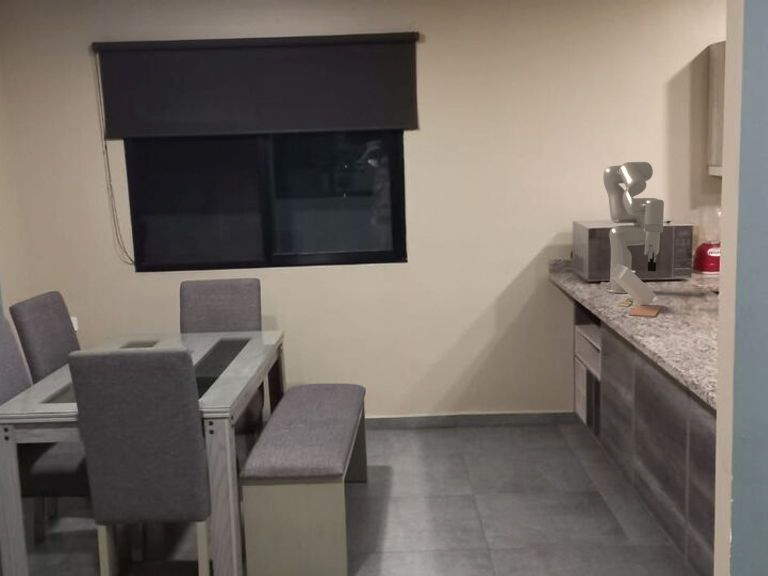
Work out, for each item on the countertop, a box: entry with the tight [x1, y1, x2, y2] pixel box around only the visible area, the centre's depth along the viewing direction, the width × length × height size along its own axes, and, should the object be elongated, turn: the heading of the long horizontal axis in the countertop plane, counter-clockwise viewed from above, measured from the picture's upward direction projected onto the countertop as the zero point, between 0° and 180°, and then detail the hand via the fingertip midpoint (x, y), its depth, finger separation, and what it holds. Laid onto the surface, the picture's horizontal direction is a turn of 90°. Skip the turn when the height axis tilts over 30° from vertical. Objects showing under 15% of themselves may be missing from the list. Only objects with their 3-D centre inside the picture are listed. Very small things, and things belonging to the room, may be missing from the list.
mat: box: [628, 304, 662, 318], centre depth 314 cm, size 10×20×1 cm, turn 153°
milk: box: [612, 263, 657, 306], centre depth 323 cm, size 6×6×22 cm
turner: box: [618, 298, 632, 308], centre depth 332 cm, size 15×4×1 cm, turn 153°
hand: (651, 270), depth 325 cm, fingers closed
